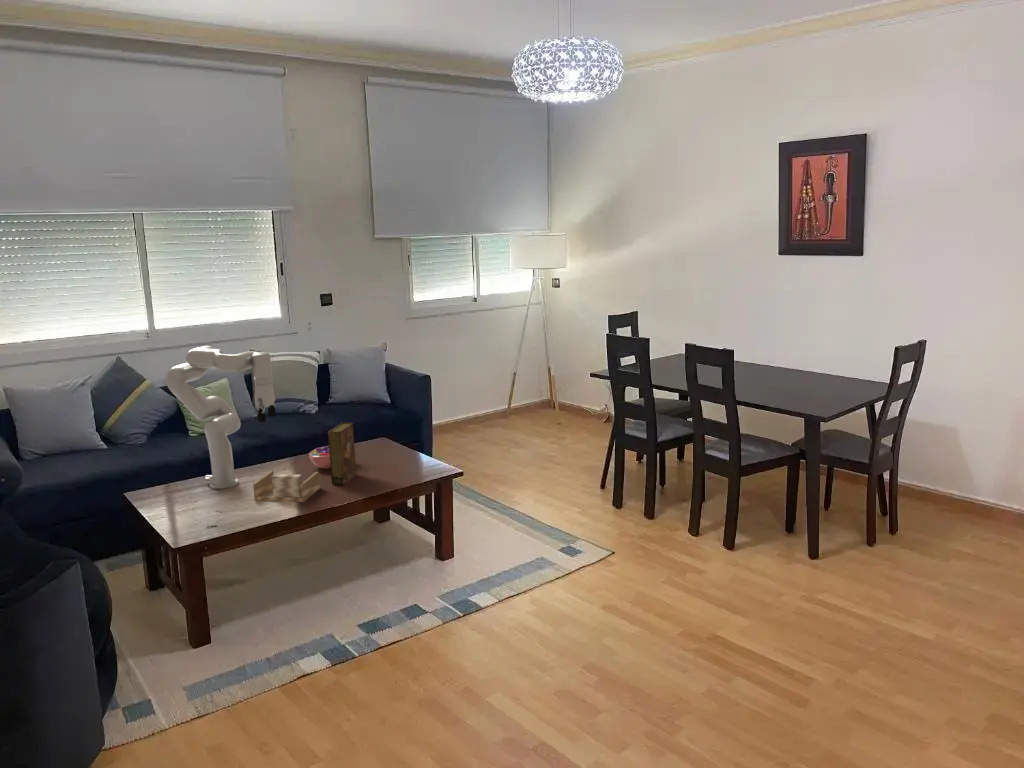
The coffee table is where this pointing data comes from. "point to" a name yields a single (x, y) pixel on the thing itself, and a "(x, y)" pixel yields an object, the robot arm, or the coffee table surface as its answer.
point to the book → (342, 453)
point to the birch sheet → (286, 485)
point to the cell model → (321, 457)
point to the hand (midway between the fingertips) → (267, 419)
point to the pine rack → (265, 486)
